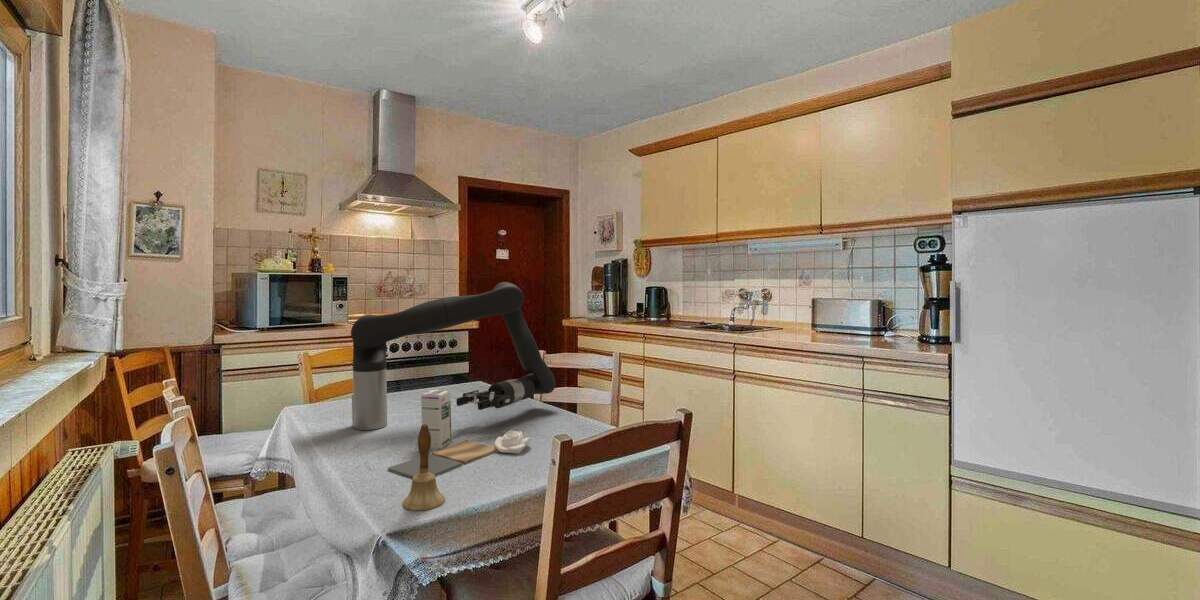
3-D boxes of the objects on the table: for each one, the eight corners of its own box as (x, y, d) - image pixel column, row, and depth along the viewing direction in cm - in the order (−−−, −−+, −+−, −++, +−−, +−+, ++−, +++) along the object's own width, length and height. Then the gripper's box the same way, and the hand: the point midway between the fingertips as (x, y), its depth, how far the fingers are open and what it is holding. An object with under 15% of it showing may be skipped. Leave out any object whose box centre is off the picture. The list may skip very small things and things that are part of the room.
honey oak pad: (431, 454, 141) (431, 452, 141) (466, 442, 151) (466, 440, 151) (465, 464, 135) (465, 461, 135) (499, 450, 145) (499, 448, 145)
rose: (538, 435, 144) (503, 439, 139) (537, 452, 144) (502, 456, 139) (523, 424, 153) (490, 426, 148) (522, 439, 153) (488, 442, 148)
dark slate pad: (387, 470, 130) (387, 467, 130) (428, 455, 140) (428, 453, 140) (422, 481, 124) (422, 478, 124) (462, 465, 134) (462, 462, 134)
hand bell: (433, 490, 119) (432, 417, 118) (452, 502, 113) (451, 425, 112) (395, 501, 113) (394, 424, 112) (413, 515, 107) (412, 434, 106)
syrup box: (441, 449, 146) (441, 394, 145) (421, 447, 147) (420, 393, 146) (451, 442, 151) (451, 390, 150) (431, 441, 152) (431, 388, 151)
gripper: (489, 378, 175) (450, 388, 161) (524, 383, 167) (485, 394, 154) (489, 402, 175) (450, 413, 162) (524, 408, 168) (486, 421, 154)
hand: (467, 404), depth 158 cm, fingers open, 8 cm apart
